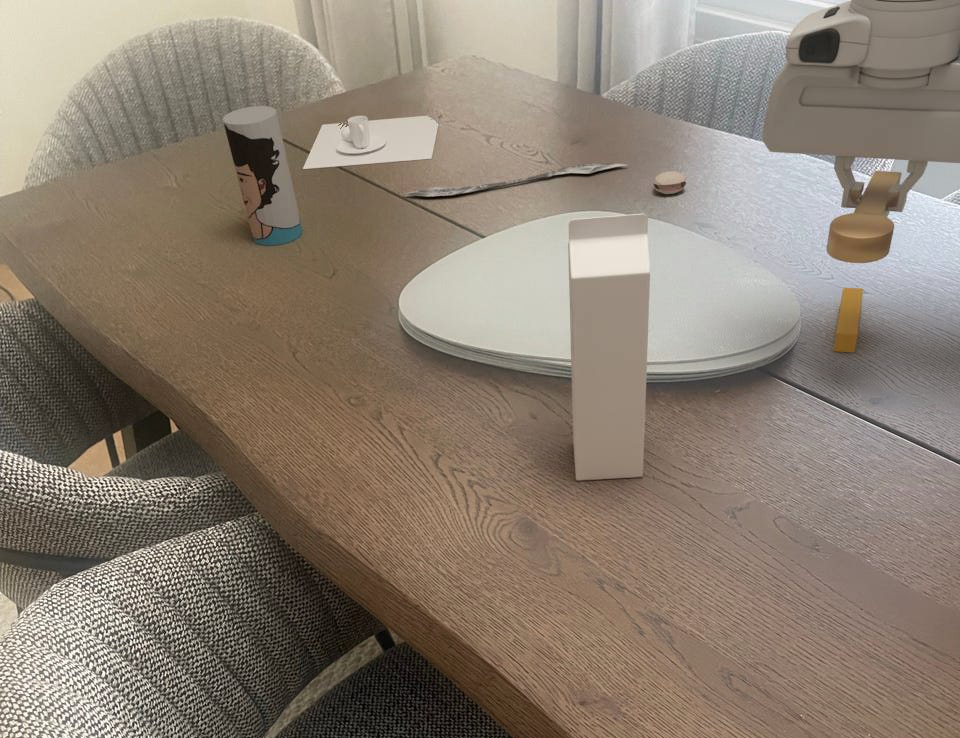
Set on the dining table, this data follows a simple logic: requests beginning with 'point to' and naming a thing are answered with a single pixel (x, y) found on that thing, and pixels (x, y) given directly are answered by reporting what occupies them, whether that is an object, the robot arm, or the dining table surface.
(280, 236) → the white tall cylinder
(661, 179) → the macaroon
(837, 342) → the fry
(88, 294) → the dining table surface
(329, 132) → the teacup and saucer
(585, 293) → the milk
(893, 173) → the spoon
